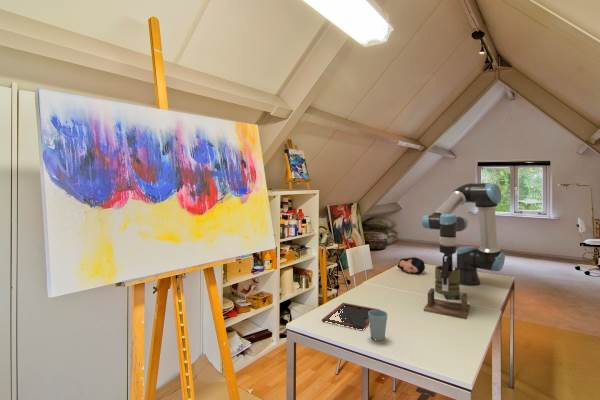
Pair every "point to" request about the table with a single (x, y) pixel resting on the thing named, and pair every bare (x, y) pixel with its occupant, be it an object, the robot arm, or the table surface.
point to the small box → (452, 297)
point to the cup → (377, 324)
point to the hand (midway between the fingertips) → (447, 287)
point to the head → (412, 265)
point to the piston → (452, 281)
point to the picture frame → (351, 315)
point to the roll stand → (447, 306)
